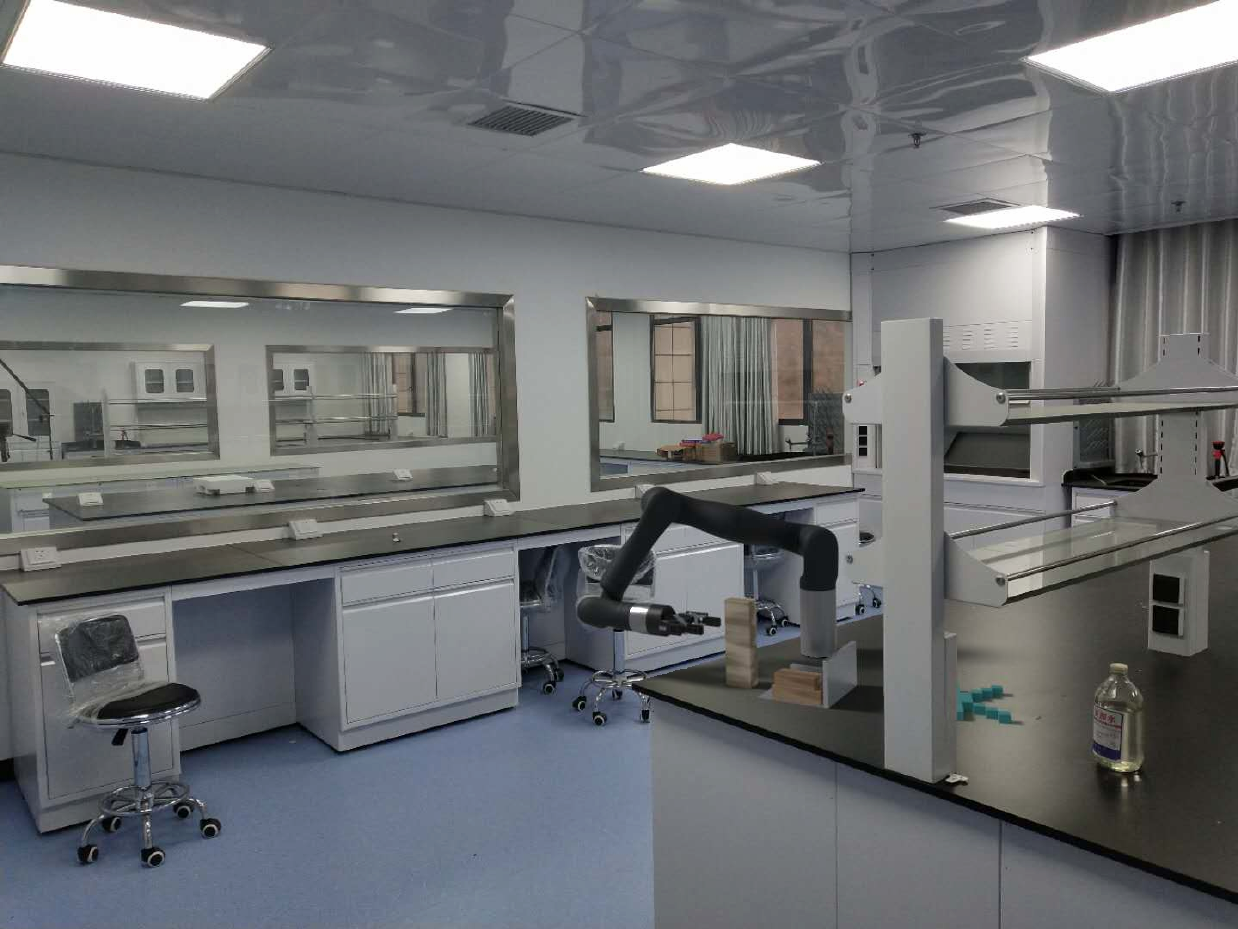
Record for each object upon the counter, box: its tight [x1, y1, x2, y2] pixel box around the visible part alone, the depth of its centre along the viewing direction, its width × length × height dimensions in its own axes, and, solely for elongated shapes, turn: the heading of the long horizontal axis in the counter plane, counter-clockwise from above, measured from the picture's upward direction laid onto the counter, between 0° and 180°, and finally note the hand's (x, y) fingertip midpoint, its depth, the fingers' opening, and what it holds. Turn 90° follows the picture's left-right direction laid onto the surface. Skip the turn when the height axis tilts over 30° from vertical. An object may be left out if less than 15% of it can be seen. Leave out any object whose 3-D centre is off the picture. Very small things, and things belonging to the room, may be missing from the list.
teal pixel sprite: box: [956, 682, 1012, 725], centre depth 195 cm, size 20×2×20 cm
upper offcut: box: [773, 667, 822, 691], centre depth 199 cm, size 5×9×2 cm, turn 57°
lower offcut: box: [771, 682, 823, 704], centre depth 199 cm, size 5×11×2 cm, turn 57°
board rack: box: [757, 640, 858, 709], centre depth 202 cm, size 18×16×12 cm
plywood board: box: [723, 596, 759, 690], centre depth 209 cm, size 4×6×20 cm, turn 57°
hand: (712, 626), depth 212 cm, fingers open, 8 cm apart
